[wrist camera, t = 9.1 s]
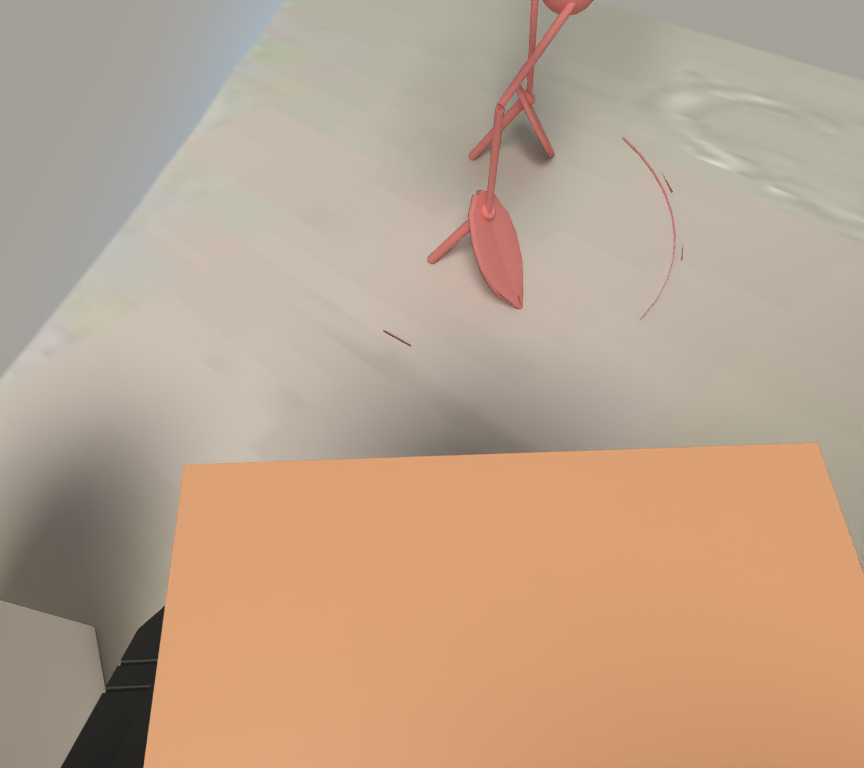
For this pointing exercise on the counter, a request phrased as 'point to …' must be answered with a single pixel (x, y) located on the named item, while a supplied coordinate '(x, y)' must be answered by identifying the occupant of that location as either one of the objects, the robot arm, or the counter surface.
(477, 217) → the figurine
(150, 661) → the robot arm
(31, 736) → the milk
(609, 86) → the counter surface
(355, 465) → the tall orange box
